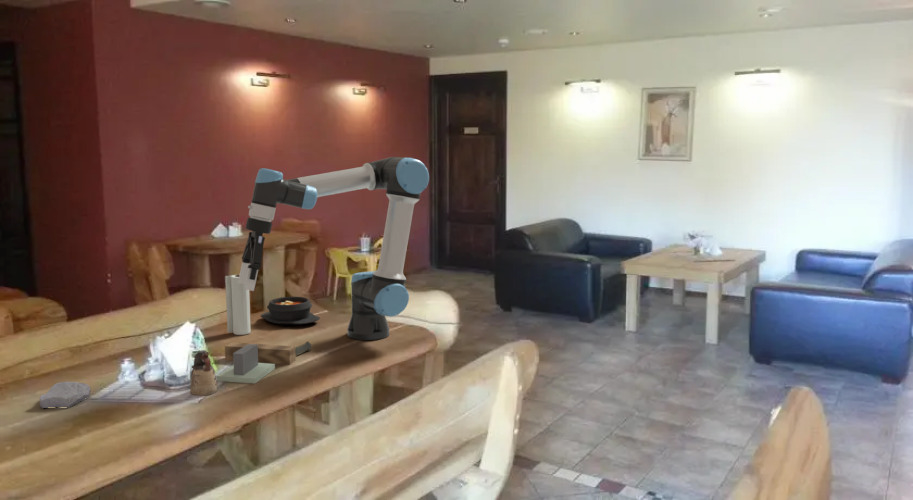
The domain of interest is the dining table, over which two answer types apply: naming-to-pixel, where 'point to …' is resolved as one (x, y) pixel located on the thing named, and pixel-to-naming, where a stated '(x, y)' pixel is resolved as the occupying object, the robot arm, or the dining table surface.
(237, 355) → the stand
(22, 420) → the dining table surface
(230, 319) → the paper towel roll
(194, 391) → the figurine
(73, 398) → the stone block
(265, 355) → the beam
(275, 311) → the casserole
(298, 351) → the dark grey oblong piece
